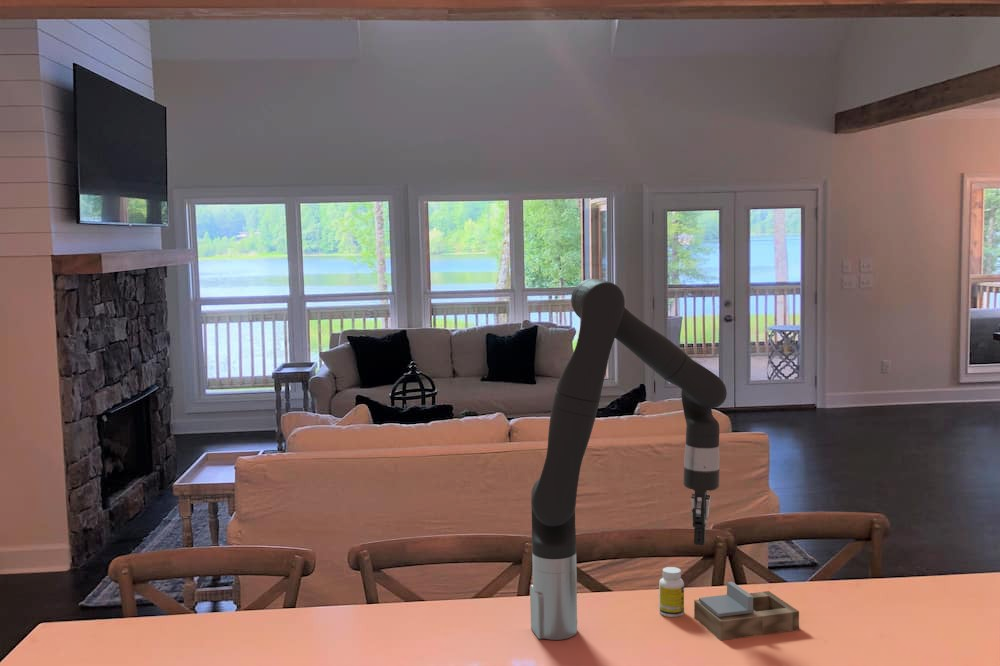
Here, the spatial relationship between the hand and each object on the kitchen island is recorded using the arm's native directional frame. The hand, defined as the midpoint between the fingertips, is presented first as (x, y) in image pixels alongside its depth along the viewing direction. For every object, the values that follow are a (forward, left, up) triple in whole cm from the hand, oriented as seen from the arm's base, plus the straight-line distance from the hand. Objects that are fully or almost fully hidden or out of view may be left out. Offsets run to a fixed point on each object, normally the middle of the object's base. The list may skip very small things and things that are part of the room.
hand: (699, 543), depth 198 cm
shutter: (+3, -7, -12) cm, 14 cm away
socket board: (+7, -7, -16) cm, 19 cm away
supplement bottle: (-5, +3, -16) cm, 17 cm away
